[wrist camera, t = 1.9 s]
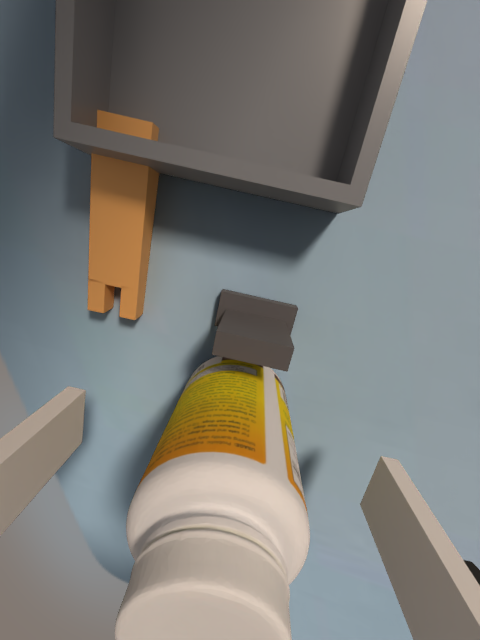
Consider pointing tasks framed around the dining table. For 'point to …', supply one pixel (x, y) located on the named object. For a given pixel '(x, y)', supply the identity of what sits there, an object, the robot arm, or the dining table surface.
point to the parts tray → (238, 89)
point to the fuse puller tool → (121, 222)
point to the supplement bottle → (218, 514)
